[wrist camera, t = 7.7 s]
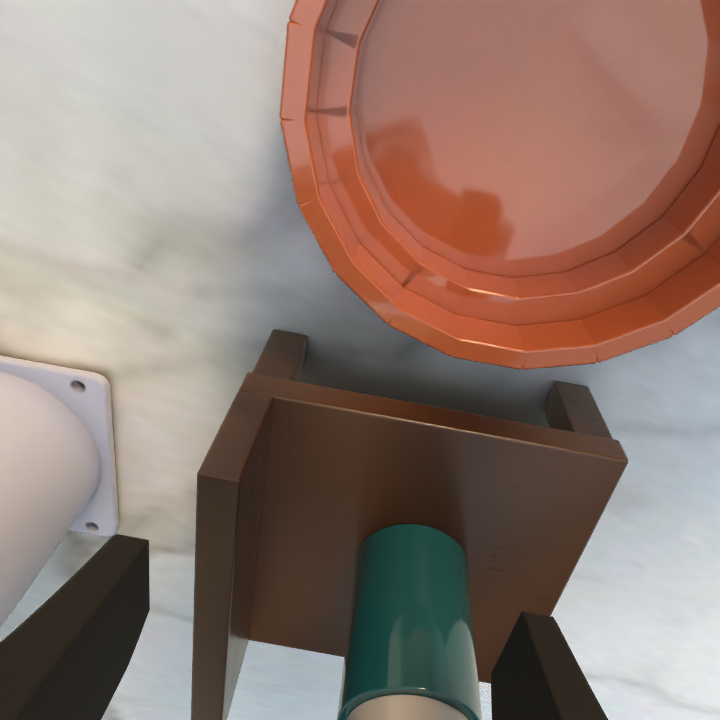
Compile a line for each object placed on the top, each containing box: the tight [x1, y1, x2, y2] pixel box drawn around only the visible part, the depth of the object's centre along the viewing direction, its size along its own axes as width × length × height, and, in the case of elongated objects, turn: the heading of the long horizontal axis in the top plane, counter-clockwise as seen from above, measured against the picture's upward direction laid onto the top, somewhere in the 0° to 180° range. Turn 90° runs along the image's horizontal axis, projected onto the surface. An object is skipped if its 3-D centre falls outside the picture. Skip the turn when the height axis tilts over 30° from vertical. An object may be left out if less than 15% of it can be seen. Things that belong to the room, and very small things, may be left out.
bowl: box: [280, 0, 720, 370], centre depth 14 cm, size 12×12×4 cm
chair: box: [191, 330, 628, 720], centre depth 19 cm, size 11×11×8 cm
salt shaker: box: [337, 524, 482, 720], centre depth 16 cm, size 4×4×6 cm
